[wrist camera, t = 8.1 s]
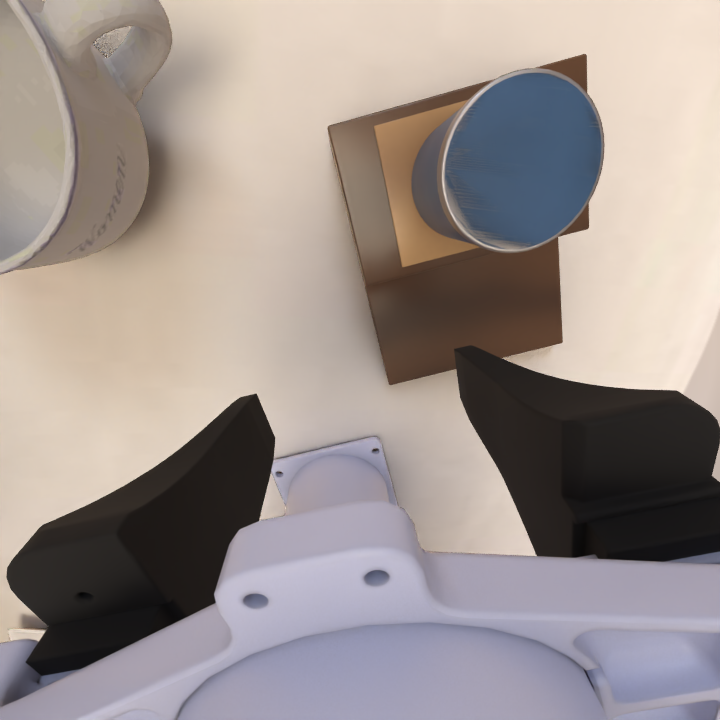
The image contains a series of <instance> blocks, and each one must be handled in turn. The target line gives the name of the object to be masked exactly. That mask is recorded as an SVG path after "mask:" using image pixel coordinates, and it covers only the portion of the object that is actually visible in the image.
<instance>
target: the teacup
mask: <svg viewBox="0 0 720 720" xmlns="http://www.w3.org/2000/svg"><path fill="white" fill-rule="evenodd" d="M126 26H132V27H131V29H130V31H129V33H128V34H127V36H126V38H125V39H124V41H123V42H122V43H121V44H120V46H119V47H118V48H117V49H116V50H115V51H114V53H113V54H112V55H111V56H109V57H108V58H105V57H104V56H103V55H102V54H101V53H100V52H99V51H98V50H97V48H96V47H95V46H94V45H93V43H94V41H95V40H96V39H97V38H98V37H100V36H101V35H103V34H104V33H107V32H109V31H112V30H114V29H117V28H122V27H126ZM171 45H172V31H171V28H170V24H169V20H168V17H167V15H166V13H165V11H164V8H163V7H162V5H161V4H160V2H159V0H46V1H45V2H43V1H42V0H0V275H1V274H4V273H7V272H10V271H13V270H21V269H29V268H35V267H40V266H46V265H52V264H57V263H63V262H67V261H71V260H75V259H78V258H82V257H85V256H88V255H91V254H93V253H95V252H98V251H100V250H102V249H104V248H105V247H107V246H109V245H110V244H112V243H113V242H114V241H116V240H117V239H118V238H119V237H120V236H122V235H123V234H124V233H125V231H126V230H127V229H128V228H129V227H130V226H131V224H132V223H133V221H134V220H135V219H136V217H137V215H138V213H139V211H140V209H141V207H142V204H143V201H144V198H145V195H146V190H147V185H148V179H149V156H148V146H147V141H146V136H145V132H144V129H143V126H142V122H141V119H140V116H139V114H138V112H137V109H136V103H137V102H138V101H139V100H140V99H141V97H142V94H143V88H144V87H145V86H146V85H147V84H148V83H149V82H150V81H151V79H152V78H153V77H154V75H155V74H156V73H157V72H158V70H159V69H160V68H161V66H162V65H163V63H164V62H165V60H166V59H167V57H168V54H169V52H170V49H171Z"/></svg>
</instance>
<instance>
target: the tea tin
mask: <svg viewBox="0 0 720 720" xmlns="http://www.w3.org/2000/svg"><path fill="white" fill-rule="evenodd" d="M603 159H604V133H603V128H602V123H601V120H600V116H599V113H598V111H597V109H596V107H595V105H594V103H593V101H592V99H591V98H590V97H589V95H588V94H587V92H586V91H585V90H584V89H583V88H582V87H581V86H580V85H579V84H578V83H576V82H575V81H574V80H572V79H571V78H569V77H567V76H565V75H563V74H561V73H559V72H556V71H552V70H549V69H541V68H530V69H522V70H517V71H513V72H510V73H508V74H505V75H502V76H501V77H499V78H497V79H495V80H493V81H491V82H490V83H489V84H487V85H486V86H484V87H483V88H482V89H480V90H479V91H478V92H477V93H476V94H475V95H474V96H472V97H471V98H470V99H469V100H468V101H467V102H466V103H465V104H464V106H463V107H461V108H460V109H459V110H458V111H457V112H455V113H454V114H453V115H452V116H451V117H449V118H448V119H447V120H446V121H445V122H443V123H442V124H441V125H440V126H439V127H437V128H436V129H435V130H434V131H433V132H432V133H431V134H430V135H429V137H428V138H427V139H426V140H425V142H424V143H423V145H422V146H421V148H420V150H419V152H418V154H417V157H416V160H415V162H414V167H413V171H412V195H413V199H414V203H415V206H416V208H417V211H418V212H419V214H420V216H421V217H422V219H423V220H424V222H425V223H426V224H427V225H428V226H429V227H430V228H432V229H433V230H434V231H435V232H437V233H439V234H441V235H443V236H446V237H449V238H452V239H456V240H460V241H463V242H467V243H471V244H474V245H476V246H478V247H481V248H484V249H487V250H490V251H495V252H500V253H519V252H524V251H529V250H532V249H535V248H538V247H540V246H542V245H544V244H546V243H548V242H550V241H551V240H553V239H555V238H556V237H558V236H559V235H560V234H561V233H563V232H564V231H565V230H566V229H567V228H569V227H570V226H571V225H572V224H573V223H574V222H575V220H576V219H577V218H578V217H579V216H580V214H581V213H582V212H583V210H584V209H585V207H586V206H587V204H588V203H589V201H590V199H591V197H592V195H593V193H594V191H595V188H596V186H597V183H598V181H599V177H600V174H601V170H602V165H603Z"/></svg>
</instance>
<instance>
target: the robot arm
mask: <svg viewBox="0 0 720 720" xmlns="http://www.w3.org/2000/svg"><path fill="white" fill-rule="evenodd" d="M454 354H455V361H456V369H457V376H458V384H459V391H460V398H461V401H462V403H463V406H464V408H465V410H466V413H467V415H468V418H469V420H470V422H471V423H472V425H473V427H474V429H475V430H476V432H477V434H478V435H479V437H480V439H481V440H482V442H483V444H484V445H485V447H486V449H487V450H488V452H489V454H490V455H491V457H492V459H493V461H494V462H495V464H496V466H497V467H498V469H499V471H500V473H501V475H502V477H503V479H504V481H505V483H506V485H507V487H508V490H509V492H510V494H511V496H512V499H513V501H514V503H515V505H516V508H517V510H518V512H519V515H520V517H521V519H522V522H523V524H524V526H525V528H526V531H527V533H528V536H529V538H530V541H531V543H532V545H533V548H534V550H535V553H536V555H537V556H520V555H498V554H475V553H452V552H430V551H424V550H423V549H422V548H421V546H420V544H419V541H418V538H417V534H416V530H415V525H414V523H413V521H412V520H411V518H410V517H409V516H408V514H407V513H406V511H405V510H404V509H403V508H401V507H398V503H397V500H396V496H395V492H394V489H393V485H392V481H391V478H390V474H389V470H388V467H387V463H386V459H385V455H384V452H383V448H382V444H381V441H380V439H379V438H378V437H369V438H365V439H361V440H356V441H352V442H348V443H344V444H340V445H336V446H331V447H327V448H323V449H319V450H315V451H310V452H306V453H302V454H298V455H294V456H290V457H285V458H281V459H277V460H274V461H273V458H274V447H275V437H274V434H273V432H272V429H271V427H270V425H269V422H268V420H267V417H266V415H265V413H264V410H263V408H262V406H261V403H260V401H259V398H258V396H257V394H253V395H249V396H244V397H240V398H239V399H237V400H236V401H235V402H233V403H232V404H231V405H230V406H229V407H228V408H226V409H225V410H224V411H223V412H222V413H221V414H220V415H219V416H218V417H216V418H215V419H214V420H213V421H212V422H211V423H210V424H209V425H208V426H207V427H205V428H204V429H203V430H202V431H201V432H200V433H198V434H197V435H196V436H195V437H194V438H192V439H191V440H190V441H189V442H188V443H187V444H185V445H184V446H183V447H182V448H180V449H179V450H178V451H177V452H175V453H174V454H173V455H171V456H170V457H168V458H167V459H166V460H164V461H163V462H161V463H160V464H159V465H157V466H156V467H154V468H153V469H151V470H149V471H148V472H146V473H144V474H143V475H141V476H140V477H138V478H136V479H135V480H133V481H132V482H130V483H128V484H127V485H125V486H123V487H121V488H119V489H118V490H116V491H114V492H112V493H110V494H108V495H107V496H105V497H103V498H101V499H99V500H97V501H95V502H93V503H91V504H89V505H87V506H85V507H82V508H80V509H78V510H76V511H74V512H71V513H69V514H67V515H65V516H62V517H60V518H58V519H56V520H53V521H51V522H49V523H46V524H44V525H42V526H41V527H40V528H39V529H38V530H37V531H36V533H35V534H34V535H33V536H32V537H31V538H30V540H29V541H28V542H27V543H26V544H25V545H24V547H23V548H22V549H21V550H20V551H19V552H18V554H17V555H16V556H15V557H14V558H13V560H12V561H11V563H10V564H9V566H8V567H7V580H8V583H9V585H10V588H11V590H12V591H13V592H14V594H15V595H16V596H17V597H18V598H19V599H20V600H21V601H22V602H23V603H24V604H25V605H26V606H27V607H28V608H29V609H30V610H31V611H33V612H34V613H35V614H36V615H37V616H38V617H39V618H40V619H41V620H42V621H43V622H44V623H45V624H46V625H47V626H49V627H48V628H47V630H46V631H45V633H44V634H43V636H42V637H41V639H40V640H39V641H37V640H33V639H19V640H13V641H8V642H3V643H0V720H720V482H719V481H717V480H716V479H715V478H714V477H712V472H713V468H714V464H715V460H716V456H717V452H718V448H719V444H720V427H719V424H718V421H717V419H715V417H714V416H713V415H712V414H711V413H710V412H709V411H708V410H706V409H705V408H703V407H701V406H700V405H698V404H697V403H695V402H694V401H692V400H691V399H689V398H687V397H686V396H684V395H683V394H681V393H680V392H678V391H671V390H638V389H624V388H614V387H605V386H597V385H590V384H585V383H579V382H573V381H569V380H564V379H560V378H556V377H552V376H548V375H545V374H541V373H538V372H535V371H532V370H529V369H526V368H524V367H521V366H518V365H516V364H513V363H511V362H508V361H506V360H504V359H501V358H499V357H497V356H495V355H493V354H491V353H488V352H486V351H484V350H482V349H480V348H478V347H475V346H473V345H469V346H465V347H460V348H456V349H454ZM374 448H377V449H378V450H377V451H373V449H374ZM278 471H281V472H282V473H281V474H279V473H277V472H278ZM270 473H272V475H273V478H274V480H275V482H276V485H277V487H278V489H279V492H280V494H281V497H282V499H283V501H284V504H285V506H286V509H285V515H284V516H280V517H275V518H271V519H266V520H261V521H259V518H260V514H261V510H262V506H263V502H264V498H265V494H266V490H267V486H268V482H269V477H270Z"/></svg>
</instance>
